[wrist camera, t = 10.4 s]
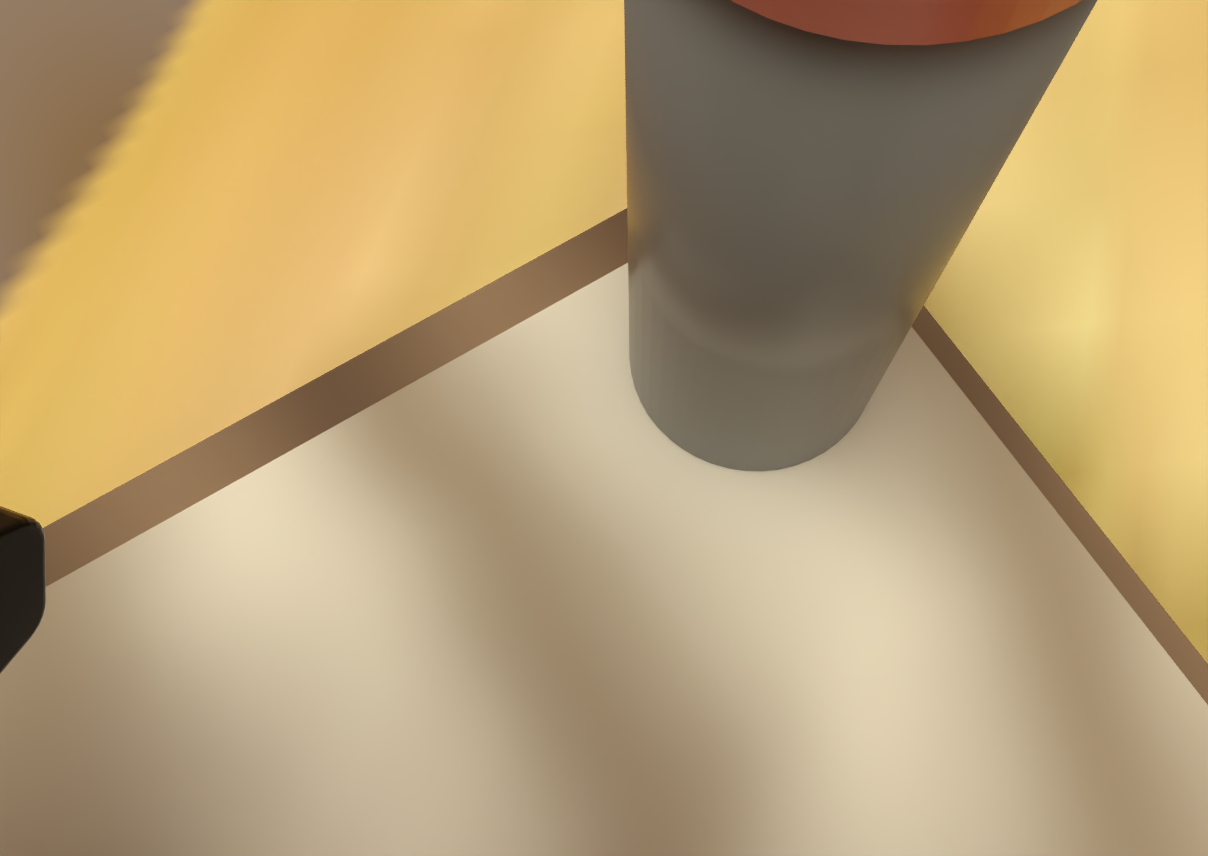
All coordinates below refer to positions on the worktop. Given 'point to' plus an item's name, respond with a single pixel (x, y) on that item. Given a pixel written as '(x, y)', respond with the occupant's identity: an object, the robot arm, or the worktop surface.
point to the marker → (807, 197)
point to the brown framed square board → (596, 625)
